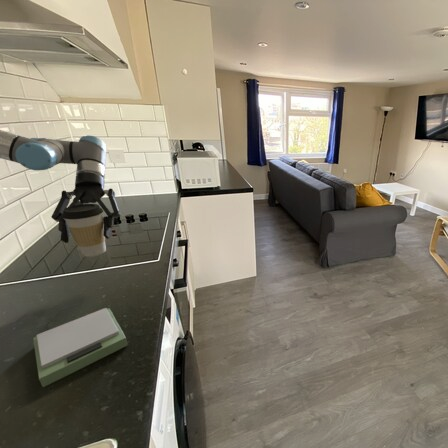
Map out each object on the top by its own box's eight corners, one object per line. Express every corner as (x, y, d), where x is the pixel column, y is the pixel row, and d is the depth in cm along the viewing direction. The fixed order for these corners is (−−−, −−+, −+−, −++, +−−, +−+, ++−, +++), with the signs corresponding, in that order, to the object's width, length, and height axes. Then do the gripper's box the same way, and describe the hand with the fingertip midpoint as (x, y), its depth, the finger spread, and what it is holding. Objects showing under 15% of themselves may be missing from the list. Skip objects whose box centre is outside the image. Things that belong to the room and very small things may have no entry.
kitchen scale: (36, 345, 62) (31, 335, 61) (111, 315, 72) (108, 305, 71) (42, 387, 52) (37, 376, 51) (128, 345, 62) (125, 334, 61)
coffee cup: (109, 243, 91) (98, 201, 85) (115, 252, 84) (104, 208, 79) (72, 251, 84) (58, 207, 79) (76, 262, 78) (61, 215, 72)
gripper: (132, 182, 94) (132, 239, 86) (54, 185, 87) (46, 248, 79) (125, 169, 88) (124, 230, 80) (41, 172, 80) (30, 238, 72)
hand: (86, 239), depth 79 cm, fingers closed on coffee cup, 10 cm apart
